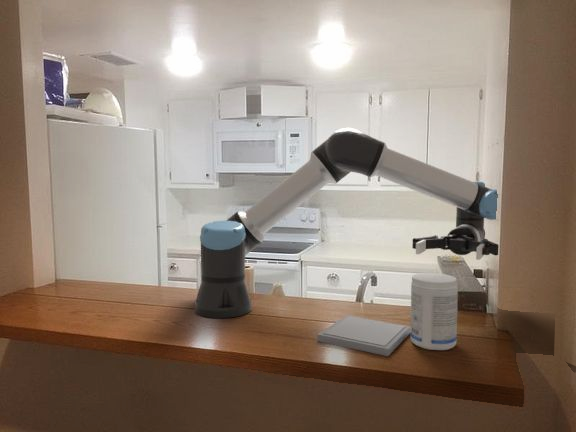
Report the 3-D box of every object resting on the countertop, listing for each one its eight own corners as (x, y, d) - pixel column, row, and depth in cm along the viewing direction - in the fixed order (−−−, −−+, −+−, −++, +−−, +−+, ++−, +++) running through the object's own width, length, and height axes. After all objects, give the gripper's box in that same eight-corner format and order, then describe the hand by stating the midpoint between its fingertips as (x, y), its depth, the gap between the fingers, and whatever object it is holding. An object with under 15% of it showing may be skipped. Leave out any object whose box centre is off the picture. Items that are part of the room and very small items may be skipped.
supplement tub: (459, 340, 100) (462, 275, 99) (452, 355, 92) (455, 284, 91) (415, 333, 105) (417, 270, 103) (404, 346, 96) (406, 278, 95)
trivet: (317, 340, 99) (317, 333, 99) (346, 320, 113) (346, 314, 113) (387, 356, 91) (388, 348, 91) (410, 332, 105) (410, 325, 105)
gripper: (513, 257, 117) (505, 272, 99) (417, 249, 130) (394, 261, 112) (514, 228, 116) (506, 238, 98) (417, 223, 129) (394, 231, 111)
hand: (446, 251), depth 105 cm, fingers open, 13 cm apart
